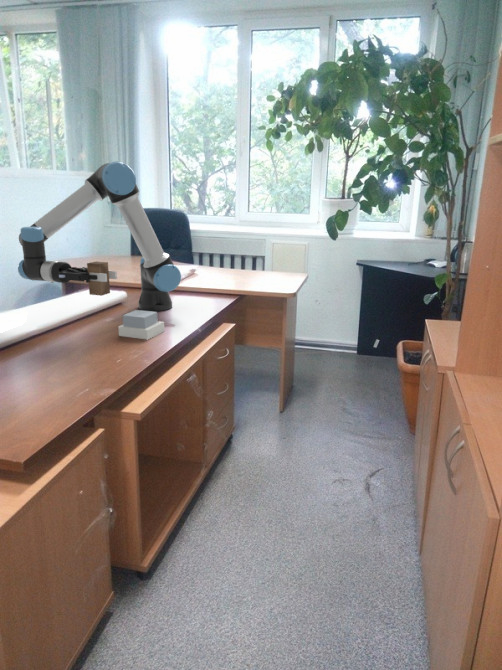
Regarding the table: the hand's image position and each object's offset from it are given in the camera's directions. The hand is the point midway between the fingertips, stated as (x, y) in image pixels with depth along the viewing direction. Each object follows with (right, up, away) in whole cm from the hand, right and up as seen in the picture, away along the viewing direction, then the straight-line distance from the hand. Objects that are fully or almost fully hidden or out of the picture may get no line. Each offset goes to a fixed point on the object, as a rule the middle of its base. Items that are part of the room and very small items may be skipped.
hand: (111, 276), depth 166 cm
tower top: (+8, -16, +10) cm, 21 cm away
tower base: (+8, -20, +11) cm, 25 cm away
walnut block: (-5, -6, +4) cm, 8 cm away
